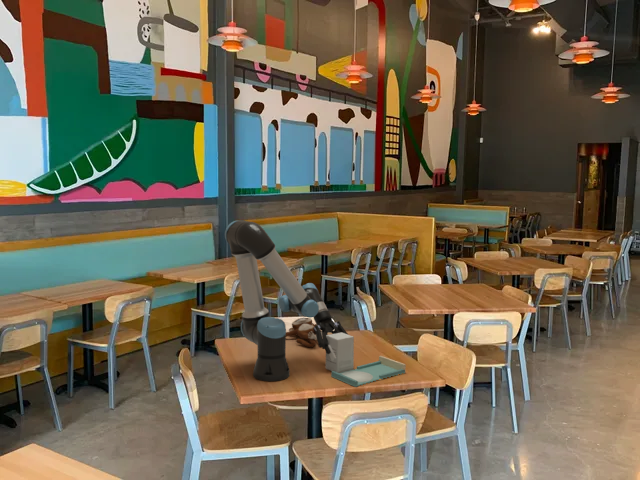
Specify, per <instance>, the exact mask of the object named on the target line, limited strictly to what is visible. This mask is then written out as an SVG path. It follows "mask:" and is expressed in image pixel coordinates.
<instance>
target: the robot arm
mask: <svg viewBox="0 0 640 480" xmlns="http://www.w3.org/2000/svg"><path fill="white" fill-rule="evenodd" d="M224 238H225V241H226V243H227V245H229V247H230V253H231V255H232V256H233V257H235V261H236V267H237V273H238V279H239V284H240V291H241V296H242V302H243V307H244V310H243V313H241V317H242V321H241V323H240V331H241V333H242V335H243V336H244V337H245V338H246V339H247V340H248V341H249V342H252V343H253V344H255V345H257V358H256V361H255V364H254V367H253V370H252V371H253V372H252V375H253V378H254V379H256V380H259V381H264V382H277V381H283V380H286V379H288V378H289V377H290V374H291V373H290V372H291V370H290V367H289V363H288V359H287V358H286V348H287V347H286V345H287V343H286V340H287V339H286V338H287V337H286V332H287V327H286V323H285V321H284V320H283V319H281V318H278V317H274V316H273V317H272V316H271V315H270V312H269V309H268V308H267V307H265V302H264V296H263V290H262V286H261V279H260V272H259V266H258V260H259V261H260V262H261V264H262V265H263V266H264V267H265V269H266V270H267V271H268V273H269V274H270V275H271V277H272V278H273V279H274V281H275V282H276V284H277V285H278V286H279V287H280V289H281V290H282V292H283V293H284V295H281V296H279V298H278V306H279V309H280V310H281V312H283V313H289V312H293V313H297V314H299V315H301V316H302V317H303V318H311V319H312V318H313V320H314V322H315V324H317V325H316V326H315V327H314V328H313V330H314V331H315V333H316V337H317V343H318V348H321V349H323V350H325V354H326V353H327V354H329V356H330V358H331V360H332V361H334V360H335V359H336V356H335V354H334V352H333V350H332V348H331V346H330V345H328V340H327V338H326V335H329V334H328V333H330V334H336V333H341V332H342V333H345V334H347V335H349V333H348V332H347V331H346V329H345V328H344V327H343V326H342V325H341V322H340V320H339V321H336V322H335V321H334V320H333V317H332V315H331V313H330V311H329V309H328V308H327V305H326V304H325V301H324V299H323V297H322V296H321V294H320V293H319V290H318V288H317V286H316V285H315V284H314V283H312V282H308V283H306V284H303V285H301V283H300V282H299V280H298V279H297V277H296V276H295V275H294V274H293V273H292V271H291V270H290V268H289V267H288V265H287V264H286V263H285V261H284V260H283V258H282V257H281V256H280V254H279V253H278V251H277V250H276V244H275V243H274V241H273V240H272V238H271V237H270V236H269V235H268V233H267V232H266V230H265V229H264V228H263V227H262V226H261V225H260V224H259V223H256V222H254V221H247V220H243V219H241V220H238V219H237V220H234V221H232V222H230V223H229V224H228V225H227V227H226V228H225V231H224ZM320 330H321V331H322V335H323V338H322V335H321V331H320Z"/></svg>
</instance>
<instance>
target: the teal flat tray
mask: <svg viewBox="0 0 640 480" xmlns="http://www.w3.org/2000/svg"><path fill="white" fill-rule="evenodd" d="M406 365H407V364H405V363H403V362H401V361H396V360H394V359H392V358H389V357H385V356H384V355H379V356H378V361H374V362H369V363H366V364H362V365H357V366H356V368H354V370H350V371H346V372H342V373H337V372H335V371H331V375H330V376H331V378H334V379H336V380H339V381H341V382H343V383H345V384H347V385H350V386H352V387H354V388H358V387H361V386H363V384H364V385H367V384H366V383H368V384H371V383H374V382H373V381H375V382H377V381H376V380H379V379H382V380H384V379H383V378H386V379H388V378H387V377H389V378H392V377H391V376H393V377H395V376H394V375H396V376H399V375H398V374H400V375H402V373H403V374H405V373H406V368H407V367H406ZM379 381H380V380H379ZM370 382H371V383H370ZM360 385H361V386H360Z"/></svg>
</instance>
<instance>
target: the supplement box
mask: <svg viewBox="0 0 640 480" xmlns="http://www.w3.org/2000/svg"><path fill="white" fill-rule="evenodd" d="M326 338H327V340H328V345H330V346H331V348H332V350H333V352H334V354H335V356H336V359H335V360H334V361H332V360H331V358H330V356H329V354H327V353H326V352H325V369H326V370H328V371H331V372H332V371H335V372H337V373H342V372H346V371H350V370H354V369H355V368H354V366H355V365H354V364H355V363H354V362H355V361H354V358H355V356H354V355H355V353H354V352H355V351H354V350H355V349H354V348H355V347H354V345H355V344H354V343H355V342H354V341H355V339H354V336H353V335H350V334H348V335H347V334H345V333H342V332H341V333H336V334H332V333H330V334H328V335H326Z"/></svg>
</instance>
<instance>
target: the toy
mask: <svg viewBox="0 0 640 480" xmlns="http://www.w3.org/2000/svg"><path fill="white" fill-rule="evenodd" d="M316 325H317V324H316V323H314V322H313V320H312V317H311V318H309V317H300V318H297V319H296V320H294V321H292V323H291V327H290V328H289V329H288V331H286V338H287V337H293V336H297V337H299V338H296V343H299V344H302V345H303V346H305V347H306V348H313V347H315V346H316V343H317V342H316V340H317V337H316V333H315V331H314V330H313V328H314V327H315V326H316ZM320 331H321V335H322V330H320ZM322 338H323V335H322Z"/></svg>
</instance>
